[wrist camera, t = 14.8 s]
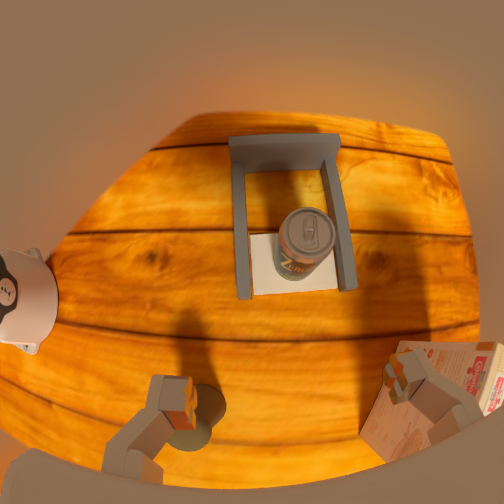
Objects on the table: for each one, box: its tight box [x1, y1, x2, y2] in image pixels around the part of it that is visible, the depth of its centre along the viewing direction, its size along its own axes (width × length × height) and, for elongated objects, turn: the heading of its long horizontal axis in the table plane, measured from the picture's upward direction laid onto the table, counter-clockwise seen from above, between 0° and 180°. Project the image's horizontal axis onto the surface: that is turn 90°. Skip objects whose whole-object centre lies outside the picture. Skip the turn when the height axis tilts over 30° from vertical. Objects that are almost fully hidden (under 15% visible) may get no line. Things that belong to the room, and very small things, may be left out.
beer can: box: [274, 207, 336, 281], centre depth 30 cm, size 5×5×12 cm
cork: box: [167, 384, 226, 452], centre depth 26 cm, size 6×6×11 cm
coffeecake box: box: [359, 341, 504, 463], centre depth 21 cm, size 15×7×20 cm, turn 157°
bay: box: [228, 133, 358, 300], centre depth 34 cm, size 15×20×7 cm
